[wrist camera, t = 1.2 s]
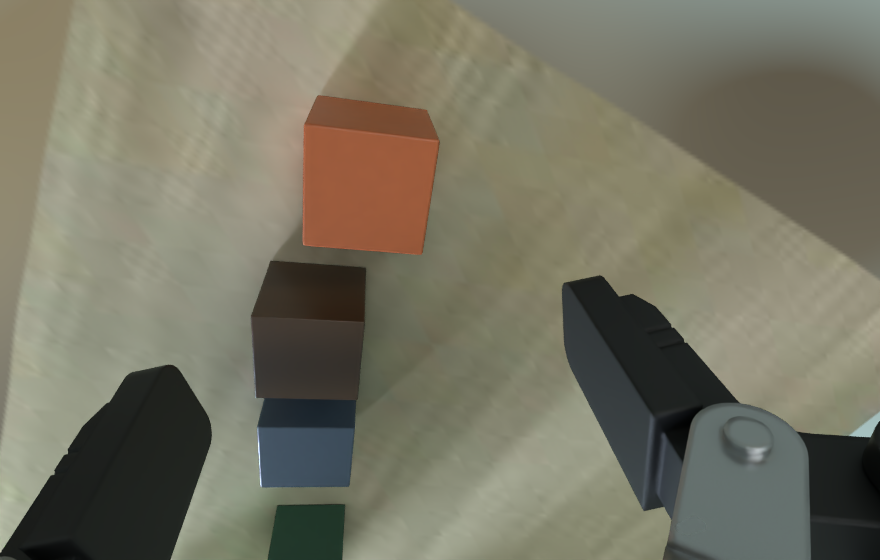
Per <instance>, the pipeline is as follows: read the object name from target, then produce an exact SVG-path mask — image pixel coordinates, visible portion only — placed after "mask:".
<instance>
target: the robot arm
mask: <svg viewBox="0 0 880 560" xmlns="http://www.w3.org/2000/svg"><path fill="white" fill-rule="evenodd" d="M562 304H563V329H564V345H565V351H566V355H567V359H568V362H569V365H570V367H571V370H572V372H573V374H574V376H575V378H576V379H577V381H578V383H579V385H580V387H581V389H582V391H583V393H584V395H585V397H586V399H587V401H588V403H589V405H590V407H591V409H592V411H593V413H594V415H595V417H596V419H597V421H598V422H599V424H600V426H601V428H602V430H603V432H604V434H605V436H606V438H607V440H608V442H609V444H610V446H611V448H612V450H613V452H614V454H615V456H616V458H617V460H618V462H619V464H620V465H621V467H622V469H623V471H624V473H625V475H626V477H627V479H628V481H629V483H630V485H631V487H632V489H633V491H634V493H635V495H636V497H637V499H638V501H639V503H640V505H641V507H642V509H643V510H644V511H646V510H651V509H655V508H660V507H665V509H666V511H667V513H668V515H669V516H670V518H671V520H672V522H671V527H670V532H669V537H668V542H667V546H666V548H665V552H664V556H663V560H880V421H879V423H878V424H877V426H876V427H875V430H874V432H873V434H872V436H871V438H870V437H853V436H838V435H823V434H810V433H801V432H797V431H795V430H794V429H793V428H792V427H791V426H790V425H789V424H788V423H786V422H785V421H783V420H782V419H781V418H779V417H778V416H776V415H774V414H772V413H770V412H768V411H766V410H763V409H761V408H758V407H754V406H751V405H746V404H741V403H739V402H738V401H737V400H736V399H735V397H734V396H733V395H732V394H731V393H730V392H729V391H728V389H727V388H726V387H725V386H724V385H723V384H722V382H721V381H720V380H719V379H718V378H717V377H716V376H715V374H714V373H713V372H712V371H711V370H710V369H709V367H708V366H707V365H706V364H705V363H704V362H703V361H702V359H701V358H700V357H699V356H698V355H697V354H696V353H695V351H694V350H693V349H692V348H691V347H690V346H689V344H688V343H685V342H684V339H683V338H682V336H681V335H680V334H679V333H678V332H677V331H676V329H675V328H672V327H671V324H670V323H669V321H668V320H667V319H666V318H665V317H664V316H663V315H662V313H661V312H660V311H659V310H658V309H657V308H656V307H655V306H654V305H652V304H650V303H648V302H646V301H644V300H643V299H641V298H639V297H637V296H635V295H634V294H630V295H625V296H621V297H619V296H618V295H617V294H616V292H615V291H614V290H613V289H612V287H611V286H610V285H609V283H608V282H607V281H606V280H605V278H604V277H602V276H600V275H599V276H594V277H590V278H585V279H580V280H575V281H571V282H566V283H564V284H563V287H562ZM211 437H212V431H211V424H210V420H209V417H208V415H207V413H206V412H205V410H204V409H203V407H202V405H201V404H200V402H199V401H198V399H197V397H196V396H195V394H194V393H193V391H192V389H191V388H190V386H189V385H188V383H187V381H186V380H185V378H184V377H183V375H182V373H181V372H180V371H179V369H178V368H177V367H175V366H173V365H165V366H160V367H155V368H150V369H146V370H141V371H136V372H132V373H130V374H128V375H127V376H126V377H125V379H124V380H123V382H122V383H121V385H120V386H119V388H118V390H117V391H116V393H115V395H114V396H113V398H112V399H111V401H110V403H107V404H106V405H104V406H103V407H102V408H101V409H100V410H99V411H98V412H97V413H96V414H95V415H94V416H93V417H92V418H91V419H90V420H89V421H88V422H87V423H86V424H85V425H84V426H83V427H82V428H81V430H80V431H79V433H78V435H77V436H76V438H75V439H74V441H73V442H72V444H71V445H70V447H69V448H68V454H66V455H64V456H63V458H62V459H61V461H60V462H59V464H58V465H57V467H56V468H55V470H54V471H55V475H51V476H50V478H49V479H48V481H47V482H46V484H45V485H44V487H43V488H42V490H41V491H40V493H39V495H38V496H37V498H36V499H35V501H34V502H33V504H32V505H31V507H30V508H29V510H28V512H27V513H26V515H25V516H24V518H23V519H22V521H21V522H20V524H19V525H18V527H17V528H16V530H15V532H14V533H13V535H12V536H11V538H10V539H9V541H8V542H7V544H6V545H5V547H4V548H3V550H2V552H1V553H0V560H170V559H171V556H172V553H173V551H174V548H175V545H176V542H177V539H178V536H179V533H180V530H181V528H182V525H183V522H184V519H185V516H186V513H187V510H188V508H189V505H190V502H191V499H192V496H193V493H194V490H195V488H196V485H197V482H198V479H199V476H200V473H201V470H202V467H203V465H204V462H205V459H206V456H207V453H208V450H209V447H210V444H211Z"/></svg>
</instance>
